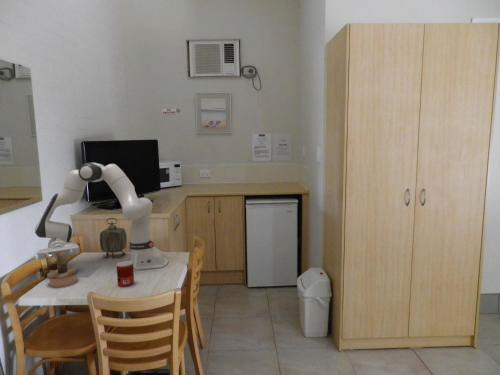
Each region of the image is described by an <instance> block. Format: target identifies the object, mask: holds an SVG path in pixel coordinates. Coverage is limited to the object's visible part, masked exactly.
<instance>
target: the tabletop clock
mask: <svg viewBox="0 0 500 375" xmlns="http://www.w3.org/2000/svg"><path fill="white" fill-rule="evenodd" d="M109 220H115V222H113V221H111V222H108V221H109ZM106 224H108V225H109V226H108V227H107V228H105V229H104V230H102V231H100V234H99V245H100V250H101V251H102V252H104V253H105V255H106V256H108V255H109V253H112V255H111V257H112V258H115V255H114V253H119V252H121V253H122V255H123V256H125V255H126V252H124V251H123V250H124V249H125V248H127V245H128V244H127V242H128V238H127V232H126V229H125V228H123V227H117V224H118V219H117V218H115V217H108V218H107V219H106Z"/></svg>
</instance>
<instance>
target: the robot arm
mask: <svg viewBox="0 0 500 375" xmlns="http://www.w3.org/2000/svg"><path fill="white" fill-rule="evenodd" d="M103 181H104V182H106V183H107V185H108V186H109V188H110V189H111V191H112V192H113V193H114V195H115V196H116V198H117V199H118V201H119V204H120V206H121V209H122V211H121V212H122V216H123V218H124V219H126V220H127V221H131V223H130V226H129V241H130V242H129V247H128V248H129V253H130V255H129V261H132V262H133V270H134V271H136V270H137V271H140V270H150V269H160V268H165V267H166V266H167V265H168V264H169V260H168V258H165V256H164V255H165V254H164V252H163V251H161V250H160V249H159V248H158V247H156V246H154V243H155V242H154V240H151V238H150V237H151V236H150V223H151V216H152V210H153V208H154V207H153V206H154V205H153V202H152V201H151V199H149V198H147V197H138V195H137V193H136V191H135V190H136V189H135V188H136V187H135V185H134V184H133V183H132V181H131V180H130V178H129V177H128V176H127V175H126V173H125V172H124V171H123V169H121V168H120V167H119V166H118V165H117V164H115V163H109V164H107V165H104V164H103V163H97V162H86V163H83V164H81V165H80V167H79V168H78V169H73V170H71V171H69V173H68V175H67V177H66V179H65V182H64V183H63V187H62V189H61V190H60V191H59V192H58V193H55V194H54V195H53V196H52V197H51V199H50V201H49V203H48V205H47V207H46V208H45V210H44V212H43V213H42V214H43V215H42V216H41V218H40V219H39V221H38V223H36V226H35V228H34V234H35V235H36V236H37V237H38V238H44V239H46V238H47V239H49V241H48V243H47V248H43V249H39V250H38V251H37V252H36V255H37V259H38V260H44V259H52V258H55V259H57V256H56V253H59V252H66V256H72V255H75V254H76V255H77V254H80V252H81V251H80V250H81V249H80V246H79V245H78V244H77V243H75V241H71V238H72V235H73V229H72V226H71V225H70V223H65V222H60V221H59V222H58V221H52V220H50V219H51V218H52V215H53V214H54V212H55V210H56V209H57V208H58V207H61V206H65V205H72V204H76V203H78V202H79V201H81V200H82V198H83V195H84V193H85V190H86V186H87V184H88V183H97V182H98V183H99V182H103Z"/></svg>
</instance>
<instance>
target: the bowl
mask: <svg viewBox="0 0 500 375" xmlns="http://www.w3.org/2000/svg"><path fill="white" fill-rule="evenodd" d="M77 278H78V277H76V274H75V275H73V276H70V277H67V278H61V279H50V278H49V285H50V287H52V288H63V287H64V288H65V287H68V286H70V285H74V284H76V282H77Z"/></svg>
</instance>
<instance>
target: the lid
mask: <svg viewBox="0 0 500 375" xmlns="http://www.w3.org/2000/svg"><path fill="white" fill-rule="evenodd" d="M56 256H57V258H56V265H57V268H56V269H53V270H51V271H49V272H48V273H47V274H46V275H47V276H46V277H47V278H48V279H49V280H50V279H61V278H67V277H70V276H73V275H75V274H77V273H78V269H77V268H78V267H72V266H71V267H70V266H69V267H68V260H67V255H66V252H59V253H56Z"/></svg>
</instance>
